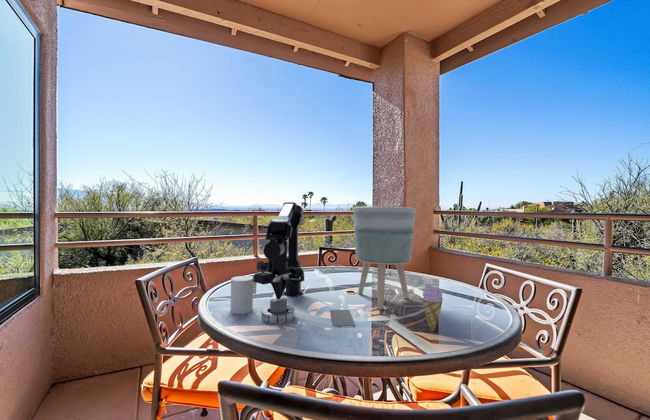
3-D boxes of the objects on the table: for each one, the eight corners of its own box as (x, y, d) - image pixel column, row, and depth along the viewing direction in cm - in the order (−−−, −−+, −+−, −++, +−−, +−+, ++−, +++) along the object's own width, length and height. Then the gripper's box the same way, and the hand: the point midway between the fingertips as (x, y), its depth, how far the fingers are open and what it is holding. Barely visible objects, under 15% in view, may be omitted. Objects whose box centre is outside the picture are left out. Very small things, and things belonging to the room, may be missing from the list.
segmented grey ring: (279, 309, 110) (279, 302, 110) (300, 316, 103) (301, 309, 103) (254, 317, 101) (255, 310, 101) (276, 326, 94) (277, 318, 94)
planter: (418, 297, 130) (420, 208, 130) (406, 315, 106) (408, 207, 106) (363, 288, 142) (364, 207, 142) (341, 303, 118) (343, 206, 119)
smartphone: (332, 325, 94) (329, 309, 109) (332, 328, 94) (329, 312, 109) (355, 325, 95) (349, 309, 110) (355, 328, 95) (349, 312, 110)
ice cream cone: (418, 326, 96) (419, 281, 96) (435, 325, 97) (436, 281, 97) (426, 334, 90) (427, 286, 90) (445, 334, 90) (446, 286, 90)
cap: (278, 312, 106) (279, 295, 106) (290, 316, 103) (290, 298, 103) (266, 317, 102) (266, 298, 102) (277, 321, 98) (278, 302, 98)
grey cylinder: (246, 314, 104) (247, 281, 104) (226, 312, 106) (226, 280, 106) (256, 307, 112) (256, 276, 112) (237, 305, 114) (237, 275, 114)
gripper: (282, 250, 115) (282, 289, 115) (243, 255, 100) (242, 300, 100) (303, 253, 108) (302, 294, 108) (264, 259, 93) (263, 307, 93)
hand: (278, 298), depth 102 cm, fingers closed, pressing on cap
